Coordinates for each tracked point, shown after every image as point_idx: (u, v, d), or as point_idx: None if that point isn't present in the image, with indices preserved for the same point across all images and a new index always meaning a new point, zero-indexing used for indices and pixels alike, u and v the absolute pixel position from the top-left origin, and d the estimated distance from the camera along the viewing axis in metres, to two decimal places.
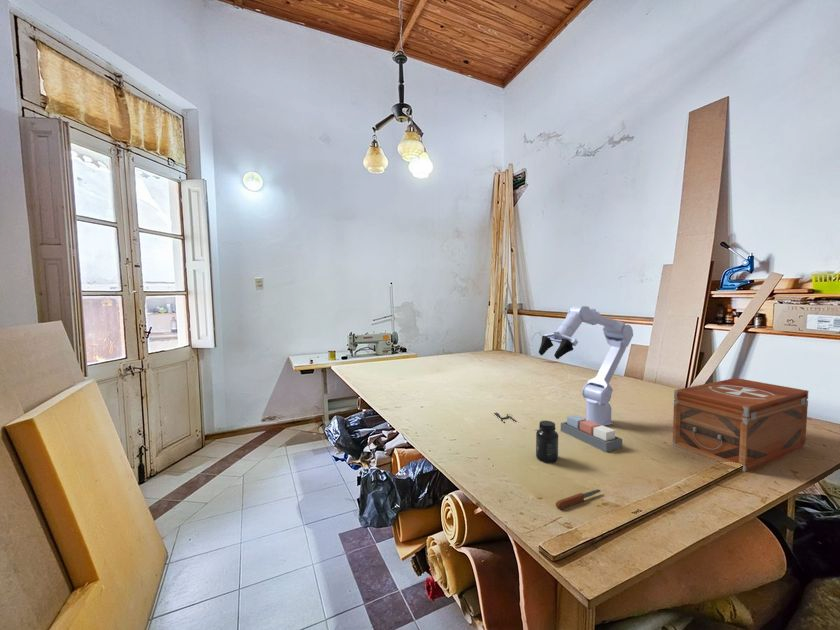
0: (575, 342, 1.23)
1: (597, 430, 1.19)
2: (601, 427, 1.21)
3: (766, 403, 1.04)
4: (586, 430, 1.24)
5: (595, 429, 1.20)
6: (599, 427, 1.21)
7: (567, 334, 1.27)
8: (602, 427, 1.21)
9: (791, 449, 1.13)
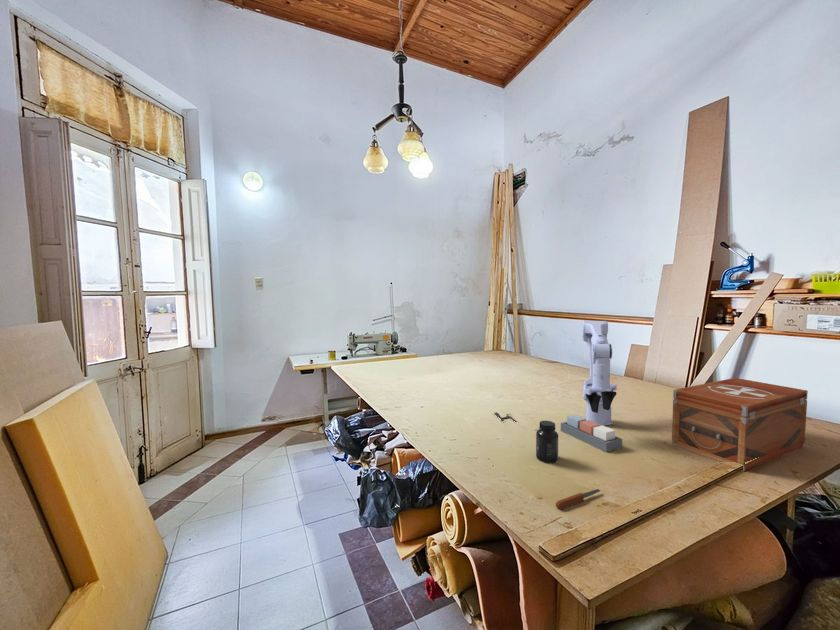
0: None
1: (597, 430, 1.19)
2: (601, 427, 1.21)
3: (765, 403, 1.05)
4: (586, 430, 1.24)
5: (595, 429, 1.20)
6: (599, 427, 1.21)
7: None
8: (602, 427, 1.21)
9: (790, 449, 1.13)
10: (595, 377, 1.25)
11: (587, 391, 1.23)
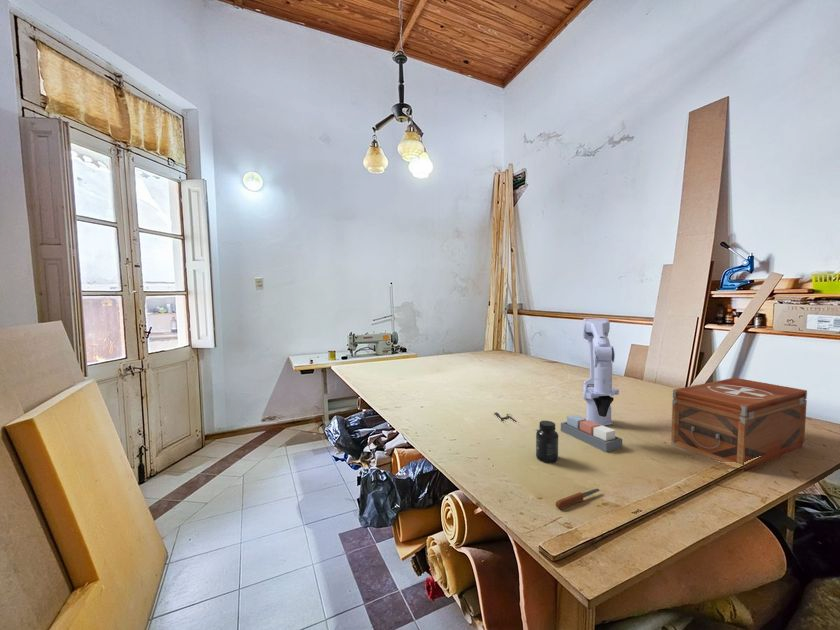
0: None
1: (597, 430, 1.19)
2: (601, 427, 1.21)
3: (764, 402, 1.05)
4: (586, 430, 1.24)
5: (595, 429, 1.20)
6: (599, 427, 1.21)
7: None
8: (602, 427, 1.21)
9: (790, 448, 1.14)
10: (597, 381, 1.21)
11: (589, 395, 1.19)
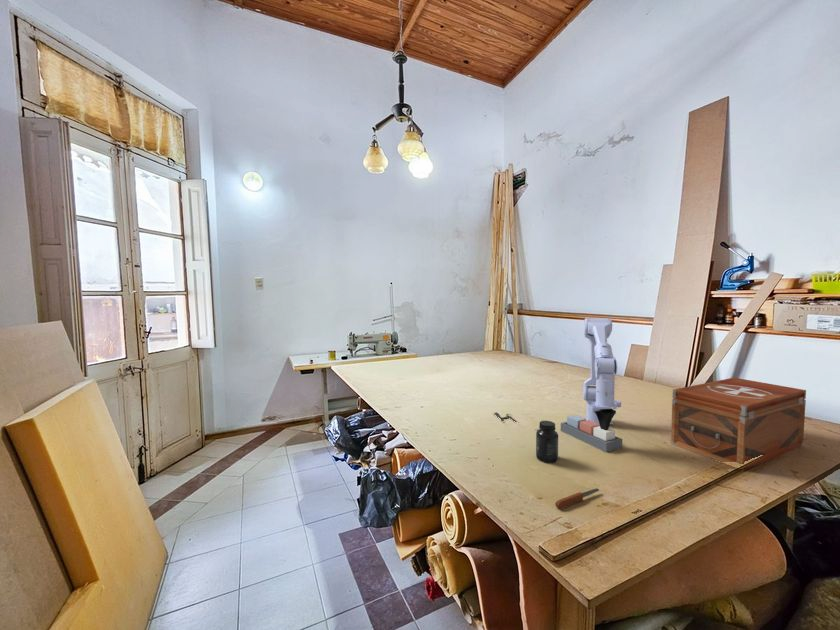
0: None
1: (597, 430, 1.19)
2: None
3: (764, 402, 1.05)
4: (586, 430, 1.24)
5: (595, 429, 1.20)
6: (599, 427, 1.21)
7: None
8: None
9: (789, 448, 1.14)
10: (599, 394, 1.18)
11: (590, 409, 1.16)
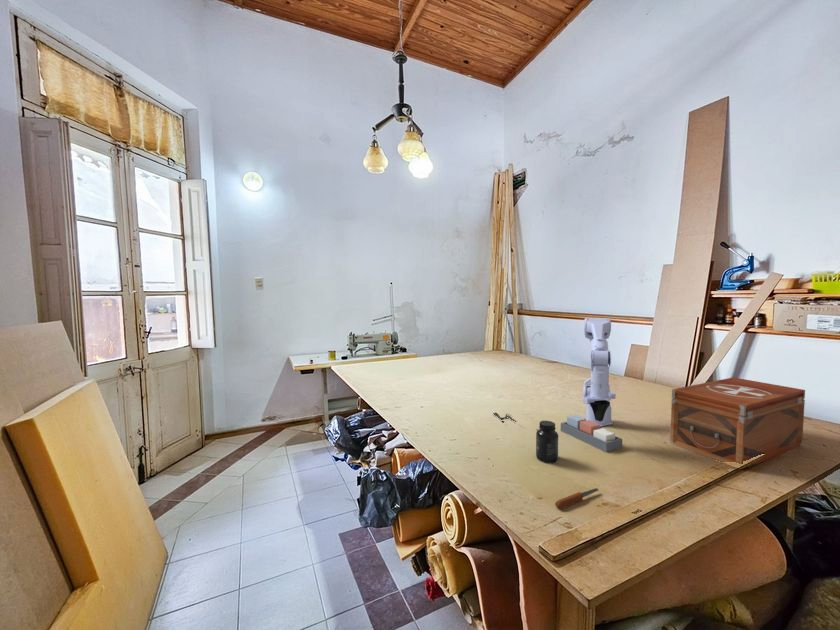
0: None
1: (597, 433, 1.19)
2: (601, 430, 1.21)
3: (763, 402, 1.05)
4: (586, 430, 1.24)
5: (595, 432, 1.20)
6: (599, 430, 1.21)
7: None
8: (602, 430, 1.21)
9: (788, 448, 1.14)
10: (593, 385, 1.20)
11: (585, 400, 1.18)
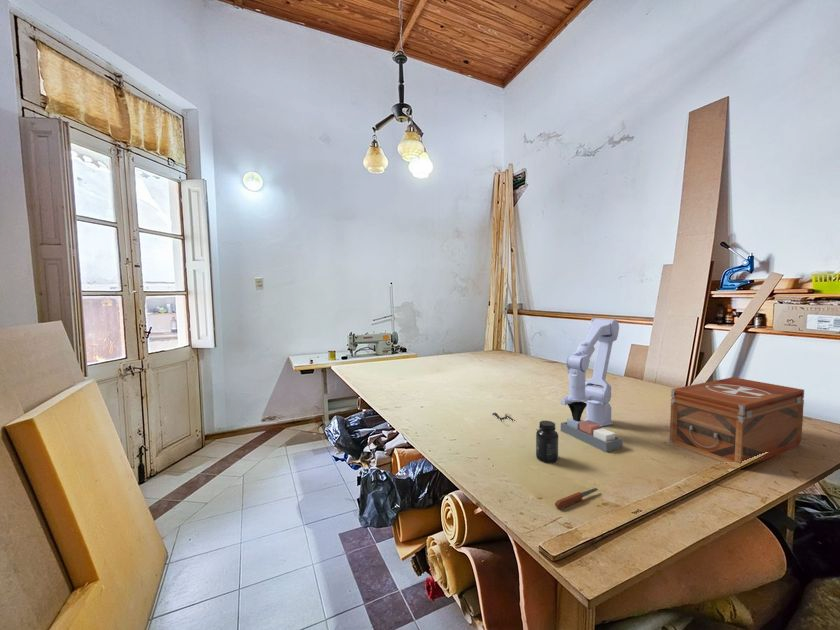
0: None
1: (597, 433, 1.19)
2: (601, 430, 1.21)
3: (762, 402, 1.06)
4: (586, 430, 1.24)
5: (595, 432, 1.20)
6: (599, 430, 1.21)
7: None
8: (602, 430, 1.21)
9: (787, 447, 1.14)
10: (571, 388, 1.29)
11: (563, 402, 1.27)
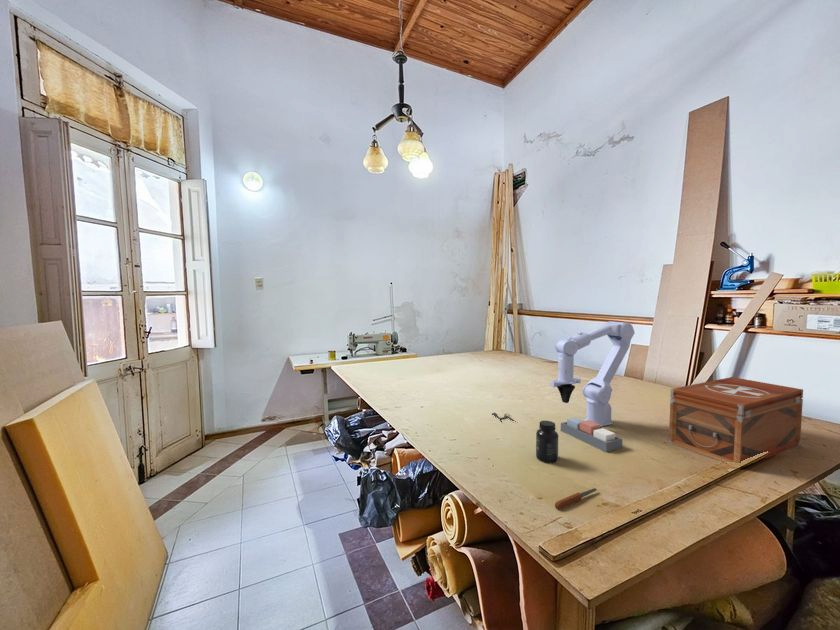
0: None
1: (597, 433, 1.19)
2: (601, 430, 1.21)
3: (761, 401, 1.06)
4: (586, 430, 1.24)
5: (595, 432, 1.20)
6: (599, 430, 1.21)
7: None
8: (602, 430, 1.21)
9: (786, 447, 1.15)
10: (560, 371, 1.35)
11: (552, 384, 1.34)
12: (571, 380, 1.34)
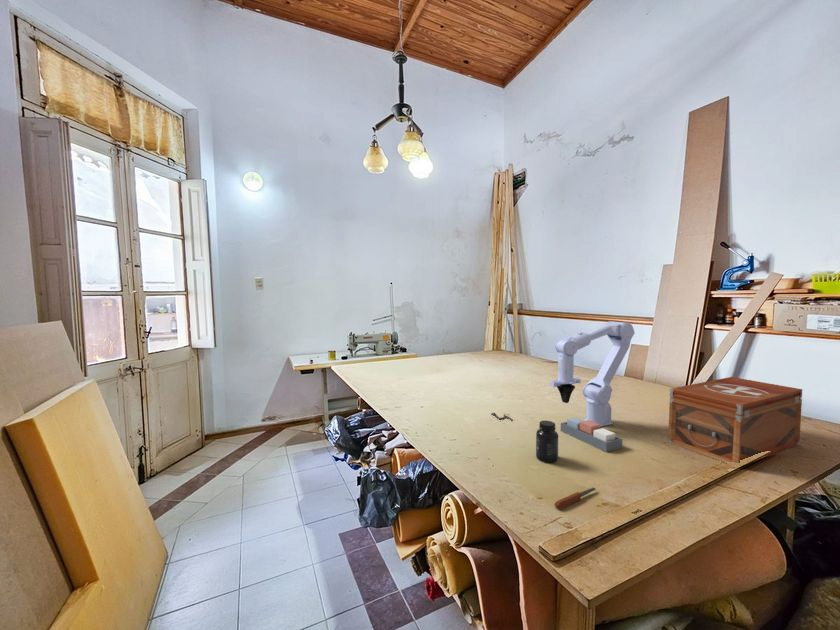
0: None
1: (597, 433, 1.19)
2: (601, 430, 1.21)
3: (760, 401, 1.06)
4: (586, 430, 1.24)
5: (595, 432, 1.20)
6: (599, 430, 1.21)
7: None
8: (602, 430, 1.21)
9: (785, 447, 1.15)
10: (560, 371, 1.35)
11: (552, 384, 1.34)
12: (571, 380, 1.34)
